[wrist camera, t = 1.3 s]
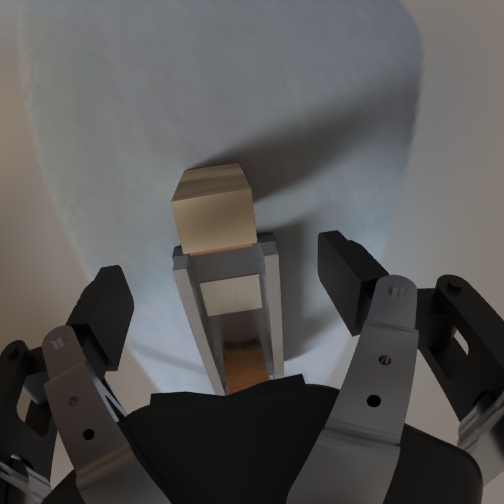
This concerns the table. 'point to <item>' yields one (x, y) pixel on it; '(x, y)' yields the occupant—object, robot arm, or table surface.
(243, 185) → the beech finger
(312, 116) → the table surface
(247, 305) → the grey block holder
